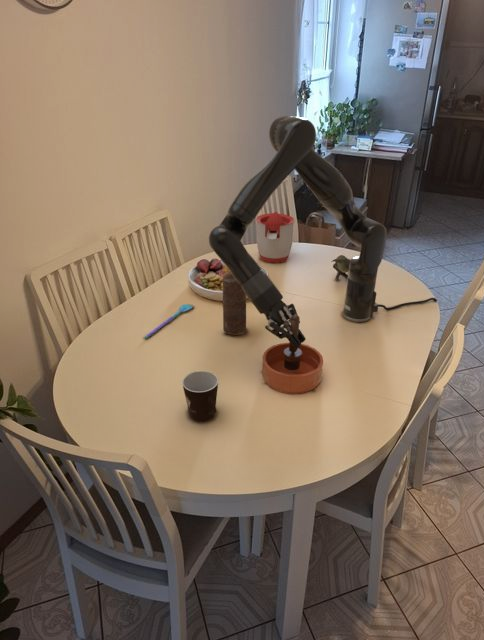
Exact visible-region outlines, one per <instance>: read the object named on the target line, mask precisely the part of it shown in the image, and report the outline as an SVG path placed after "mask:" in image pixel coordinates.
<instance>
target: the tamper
mask: <svg viewBox="0 0 484 640" xmlns="http://www.w3.org/2000/svg"><path fill="white" fill-rule="evenodd" d="M299 320H300V316H299V315H298V314H297V315H293V316H292V317H291V324H290V325H291V330H292V332H293V333H294V334H295V335H296V337H297V338H298V333H299V330H300V323H299ZM288 343H289V348H286V349H285V350H284V355H283V357H284V367H285V368H286V369H288V370H297V369H299V368H300V360H301V358H302V351H301V350H300V349H298V348H294V347H293V346H292V344H291V343H290V342H288Z"/></svg>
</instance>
